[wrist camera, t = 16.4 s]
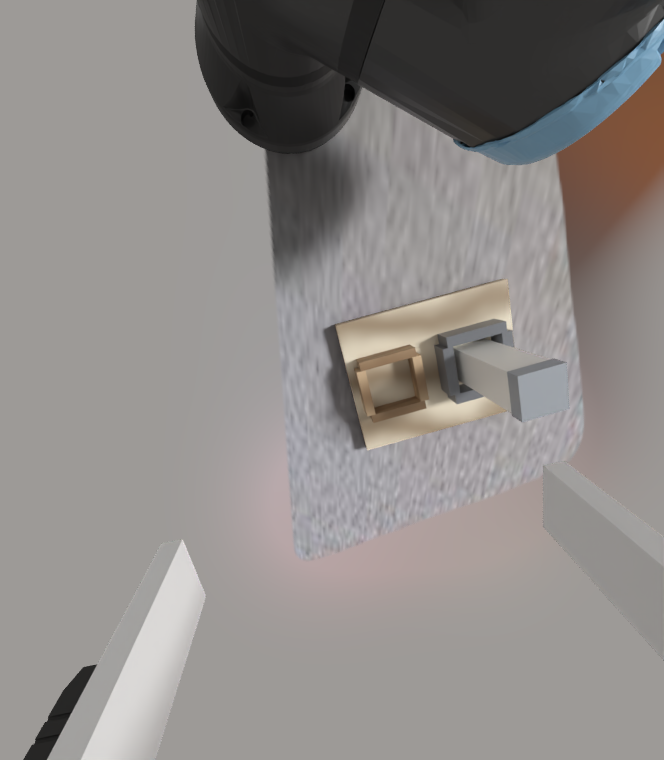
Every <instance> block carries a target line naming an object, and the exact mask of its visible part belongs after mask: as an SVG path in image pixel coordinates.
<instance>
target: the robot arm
mask: <svg viewBox="0 0 664 760" xmlns="http://www.w3.org/2000/svg"><path fill="white" fill-rule="evenodd" d="M195 41H196V49H197V55H198V60H199V64H200V68H201V71H202V74H203V77H204V80H205V82H206V85H207V87H208V89H209V91H210V93H211V96H212V98H213V100H214V102H215V103H216V105H217V107H218V109H219V110H220V112H221V114H222V115H223V116H224V118H225V119H226V120H227V121H228V122H229V124H230V125H231V126H232V127H233V128H234V129H235V130H236V131H238V133H239V134H241V135H242V136H243V137H245V138H246V139H247V140H249V141H250V142H252V143H254V144H255V145H258V146H260V147H262V148H264V149H267V150H271V151H275V152H280V153H299V152H304V151H308V150H311V149H314V148H316V147H318V146H320V145H322V144H324V143H326V142H327V141H328V140H330V139H331V138H332V137H334V136H335V135H336V134H337V133H338V132H339V131H340V130H341V129H342V127H343V126H344V125H345V123H346V122H347V121H348V119H349V118H350V116H351V114H352V112H353V110H354V108H355V106H356V104H357V101H358V98H359V95H360V92H361V89H362V87H363V88H365V89H367V90H368V91H370V92H372V93H374V94H376V95H377V96H379V97H381V98H383V99H384V100H386V101H388V102H390V103H391V104H393V105H395V106H397V107H398V108H400V109H402V110H404V111H406V112H407V113H409V114H411V115H413V116H414V117H416V118H418V119H420V120H421V121H423V122H425V123H427V124H428V125H430V126H432V127H434V128H436V129H437V130H439V131H441V132H443V133H444V134H446V135H448V136H450V137H451V138H453V140H454V143H455V144H456V145H458V146H459V147H461V148H462V149H464V150H468V151H469V150H470V151H474V152H479V153H481V154H483V155H485V156H487V157H489V158H491V159H493V160H495V161H497V162H499V163H502V164H506V165H523V164H531V163H534V162H537V161H540V160H542V159H545V158H547V157H549V156H551V155H553V154H555V153H557V152H559V151H561V150H563V149H564V148H566V147H568V146H569V145H571V144H572V143H574V142H575V141H577V140H578V139H580V138H581V137H583V136H584V135H585V134H587V133H588V132H589V131H591V130H592V129H593V128H595V127H596V126H597V125H598V124H600V123H601V122H602V121H604V120H605V119H606V118H607V117H608V116H609V115H611V114H612V113H613V112H614V111H615V110H616V109H617V108H619V107H620V106H621V105H622V104H623V103H624V102H625V101H626V100H627V99H628V98H629V97H630V96H631V95H632V94H633V93H634V92H635V91H636V90H637V89H638V88H639V87H640V86H641V85H642V84H643V83H644V82H645V81H646V80H647V79H648V78H649V76H650V75H651V74H652V73H653V72H654V71H655V70H656V69H657V68H658V67H659V66H660V64H661V56H660V54H662V53H663V52H664V0H197V5H196V17H195ZM543 527H544V528H545V529H546V530H547V532H548V533H549V534H550V535H551V536H552V537H553V538H554V539H555V540H556V542H557V543H558V544H559V545H560V546H561V547H562V548H563V549H564V551H565V552H566V553H567V554H568V555H569V556H570V557H571V558H572V559H573V560H574V562H575V563H576V564H577V565H578V566H579V567H580V568H581V569H582V570H583V572H584V573H585V574H586V575H587V576H588V577H589V578H590V579H591V580H592V581H593V583H594V584H595V585H596V586H597V587H598V588H599V589H600V590H601V591H602V593H603V594H604V595H605V596H606V597H607V598H608V599H609V600H610V601H611V603H613V605H614V606H615V607H616V608H617V609H618V610H619V611H620V612H621V613H622V615H623V616H624V617H625V618H626V619H627V620H628V621H629V622H630V624H631V625H632V626H633V627H634V628H635V629H636V630H637V631H638V632H639V634H640V635H641V636H642V637H643V638H644V639H645V640H646V641H647V642H648V643H649V645H650V646H651V647H652V648H653V649H654V650H655V651H656V652H657V653H658V654H659V656H660V657H661V658H662V659H663V660H664V536H663V535H661V534H660V533H658V532H657V531H656V530H655V529H653V528H652V527H651V526H649V525H648V524H647V523H645V522H644V521H643V520H641V519H640V518H639V517H638V516H636V515H635V514H634V513H632V512H631V511H630V510H628V509H627V508H626V507H624V506H623V505H621V504H620V503H619V502H618V501H616V500H615V499H614V498H612V497H611V496H610V495H608V494H607V493H606V492H604V491H603V490H602V489H600V488H599V487H598V486H597V485H595V484H594V483H593V482H591V481H590V480H589V479H587V478H586V477H585V476H583V475H582V474H581V473H579V472H578V471H577V470H576V469H574V468H573V467H571V466H570V465H569V464H568V463H566V462H565V461H561V462H556V463H552V464H547V465H543ZM205 597H206V595H205V592H204V590H203V588H202V585H201V583H200V580H199V578H198V575H197V573H196V571H195V568H194V566H193V563H192V561H191V559H190V556H189V554H188V552H187V549H186V546H185V544H184V542H183V539H181V540H176V541H171V542H166V543H162V544H161V545H160V547H159V549H158V551H157V553H156V555H155V557H154V559H153V560H152V562H151V564H150V566H149V568H148V570H147V572H146V574H145V576H144V577H143V579H142V581H141V583H140V585H139V587H138V589H137V591H136V593H135V594H134V596H133V598H132V600H131V602H130V604H129V606H128V608H127V610H126V612H125V613H124V616H123V617H122V619H121V621H120V623H119V625H118V627H117V628H116V630H115V632H114V634H113V636H112V638H111V640H110V642H109V643H108V645H107V647H106V649H105V651H104V653H103V655H102V657H101V659H100V661H99V662H98V664H97V665H92V666H87V667H83V668H82V669H81V671H80V672H79V673H78V674H77V675H76V676H75V678H74V679H73V680H72V681H71V682H70V683H69V685H68V686H67V687H66V688H65V689H64V690H63V692H62V694H61V696H60V697H59V699H58V701H57V703H56V704H55V706H54V708H53V709H52V711H51V713H50V715H49V716H48V721H47V722H45V723H44V725H43V727H42V728H41V730H40V732H39V734H38V735H37V737H36V739H35V740H36V741H35V744H34V745H32V746H31V748H30V749H29V751H28V753H27V754H26V756H25V758H24V760H155V759H156V756H157V753H158V749H159V746H160V743H161V740H162V736H163V733H164V730H165V727H166V723H167V720H168V717H169V714H170V711H171V707H172V704H173V701H174V698H175V694H176V691H177V688H178V685H179V682H180V678H181V675H182V672H183V669H184V665H185V662H186V659H187V655H188V653H189V649H190V646H191V643H192V639H193V636H194V633H195V630H196V627H197V623H198V620H199V617H200V614H201V610H202V607H203V604H204V601H205Z"/></svg>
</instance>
